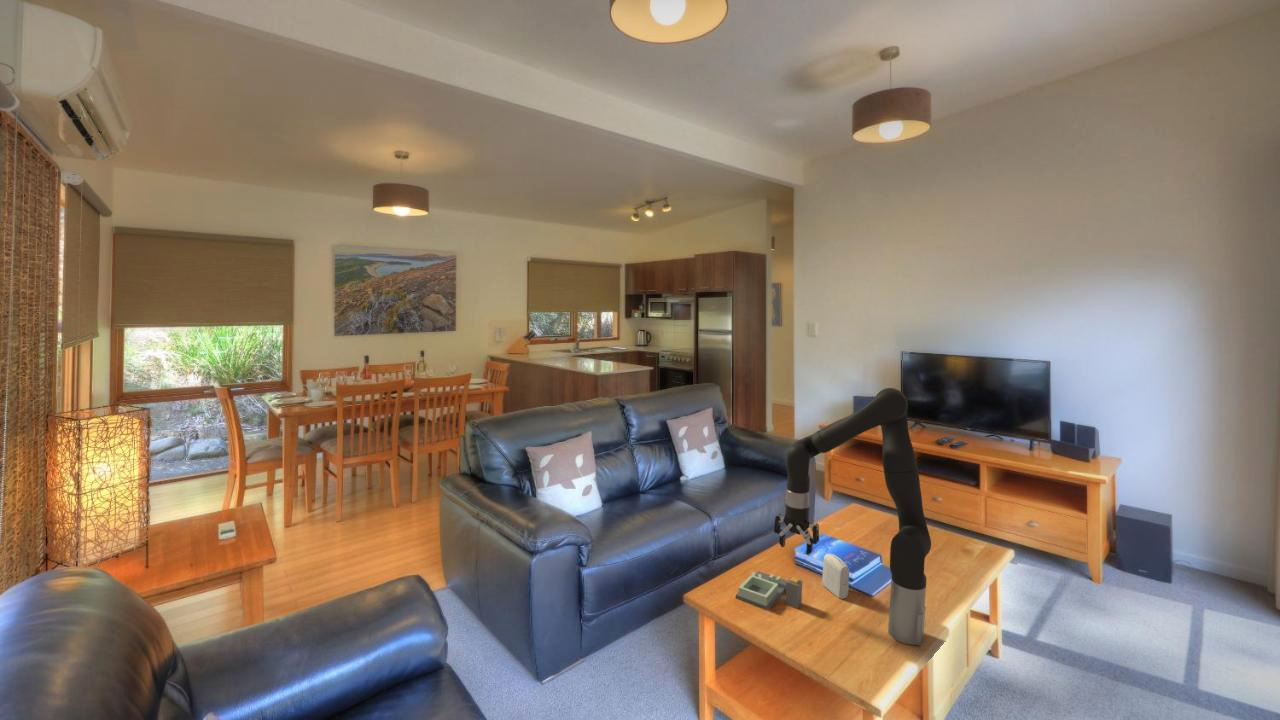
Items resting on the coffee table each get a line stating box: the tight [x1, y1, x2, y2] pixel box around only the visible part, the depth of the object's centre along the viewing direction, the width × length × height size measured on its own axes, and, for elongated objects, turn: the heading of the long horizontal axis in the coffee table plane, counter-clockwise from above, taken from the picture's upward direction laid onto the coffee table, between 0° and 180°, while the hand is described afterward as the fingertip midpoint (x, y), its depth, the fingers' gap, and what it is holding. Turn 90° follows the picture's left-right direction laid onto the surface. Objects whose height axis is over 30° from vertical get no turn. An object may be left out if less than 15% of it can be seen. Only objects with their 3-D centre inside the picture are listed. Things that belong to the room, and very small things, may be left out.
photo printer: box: [821, 553, 850, 600], centre depth 178 cm, size 10×4×12 cm, turn 17°
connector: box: [785, 576, 803, 609], centre depth 171 cm, size 4×4×9 cm
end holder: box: [738, 574, 778, 606], centre depth 175 cm, size 10×10×3 cm
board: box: [735, 571, 788, 611], centre depth 178 cm, size 12×19×4 cm, turn 144°
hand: (795, 549), depth 169 cm, fingers open, 8 cm apart
